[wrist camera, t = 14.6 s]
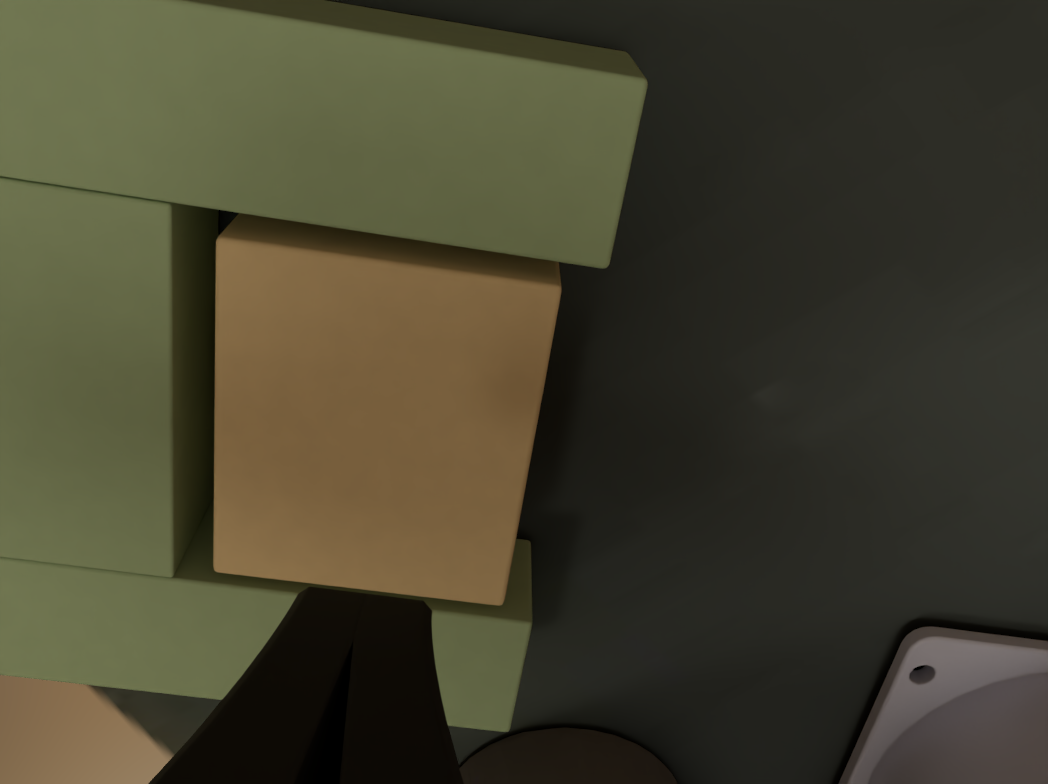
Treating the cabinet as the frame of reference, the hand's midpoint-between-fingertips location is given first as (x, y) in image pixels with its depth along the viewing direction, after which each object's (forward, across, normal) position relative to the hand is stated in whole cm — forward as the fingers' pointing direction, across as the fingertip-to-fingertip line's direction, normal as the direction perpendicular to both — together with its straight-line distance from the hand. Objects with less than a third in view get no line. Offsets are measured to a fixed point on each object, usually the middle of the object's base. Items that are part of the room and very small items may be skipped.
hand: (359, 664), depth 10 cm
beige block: (+8, 0, 0) cm, 8 cm away
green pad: (+8, +2, 0) cm, 8 cm away
